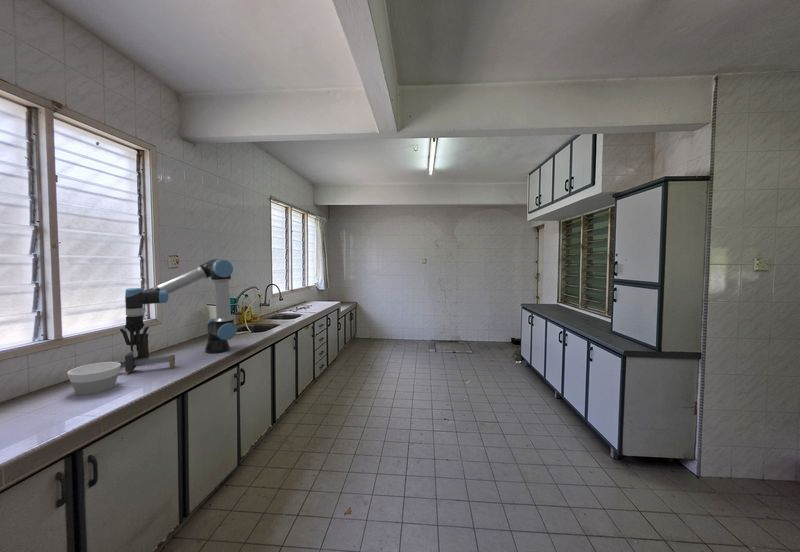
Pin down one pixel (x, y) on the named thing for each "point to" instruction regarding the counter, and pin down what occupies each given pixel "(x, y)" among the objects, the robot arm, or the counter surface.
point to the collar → (129, 362)
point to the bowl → (94, 377)
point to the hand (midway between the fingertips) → (135, 356)
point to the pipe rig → (151, 361)
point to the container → (142, 347)
